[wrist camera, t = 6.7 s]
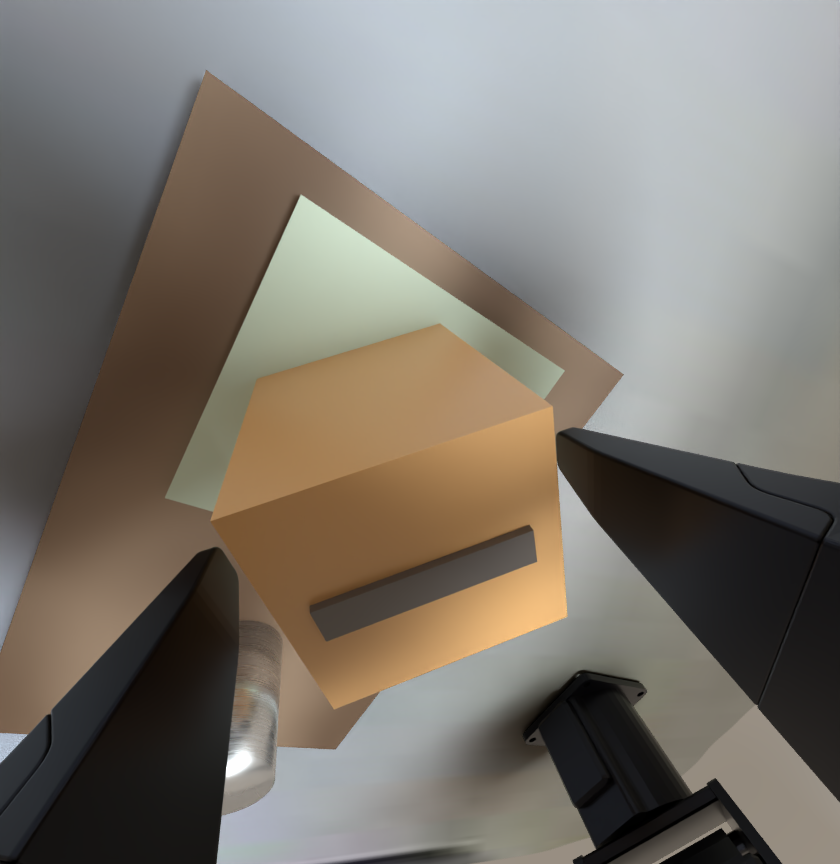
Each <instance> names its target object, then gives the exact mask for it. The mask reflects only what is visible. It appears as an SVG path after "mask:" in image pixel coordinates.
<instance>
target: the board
mask: <svg viewBox="0 0 840 864" xmlns="http://www.w3.org/2000/svg"><path fill="white" fill-rule="evenodd" d="M300 195H302V196H304V197H305V198H307V199H308V200H310V201H311V202H313V203H314V204H316V205H317V206H319V207H320V208H322V209H323V210H325V211H326V212H328V213H329V214H331V215H332V216H334V217H335V218H337V219H338V220H340V221H341V222H343V223H344V224H346V225H347V226H349V227H350V228H352V229H353V230H355V231H356V232H358V233H359V234H361V235H362V236H364V237H365V238H367V239H368V240H370V241H371V242H373V243H374V244H376V245H377V246H379V247H380V248H382V249H383V250H385V251H386V252H388V253H389V254H391V255H392V256H394V257H395V258H397V259H398V260H400V261H401V262H403V263H404V264H406V265H407V266H409V267H410V268H412V269H413V270H415V271H416V272H418V273H419V274H421V275H422V276H424V277H425V278H427V279H428V280H430V281H431V282H433V283H434V284H436V285H437V286H439V287H440V288H442V289H443V290H445V291H446V292H448V293H449V294H451V295H452V296H454V297H455V298H457V299H458V300H460V301H461V302H463V303H464V304H466V305H467V306H469V307H470V308H472V309H473V310H475V311H476V312H478V313H479V314H481V315H482V316H484V317H485V318H487V319H488V320H490V321H491V322H493V323H494V324H496V325H497V326H499V327H500V328H502V329H503V330H505V331H506V332H508V333H509V334H511V335H512V336H514V337H515V338H517V339H518V340H520V341H521V342H523V343H524V344H526V345H527V346H529V347H530V348H532V349H533V350H535V351H536V352H538V353H539V354H541V355H542V356H544V357H545V358H547V359H548V360H550V361H551V362H553V363H554V364H556V365H557V366H559V367H560V368H562V369H563V370H565V371H564V373H563V374H562V375H561V377H560V378H559V380H558V381H557V382H556V384H555V385H554V387H553V388H552V389H551V391H550V392H549V394H548V395H547V396H546V398H545V399H544V400H545V401H547V402H548V403H549V404H551V405H552V406H553V417H554V431H555V445H556V434H557V433H558V432H559V431H562V430H565V429H568V428H571V427H576V428H580V429H582V428H583V427H584V426H585V424H586V423H587V422H588V420H589V419H590V418H591V416H592V415H593V414H594V413H595V411H596V410H597V409H598V407H599V406H600V405H601V403H602V402H603V401H604V400H605V398H606V397H607V396H608V394H609V393H610V392H611V390H612V389H613V388H614V387H615V385H616V384H617V383H618V381H619V380H620V379H621V377H622V376H623V375H624V374H622V373H621V372H619V371H618V370H617V369H615V368H614V367H613V366H611V365H610V364H608V363H607V362H606V361H604V360H603V359H602V358H600V357H599V356H597V355H596V354H595V353H593V352H592V351H591V350H589V349H588V348H587V347H585V346H584V345H582V344H581V343H580V342H578V341H577V340H576V339H574V338H573V337H571V336H570V335H569V334H567V333H566V332H565V331H563V330H562V329H560V328H559V327H558V326H556V325H555V324H554V323H552V322H551V321H549V320H548V319H547V318H545V317H544V316H543V315H541V314H540V313H539V312H537V311H536V310H534V309H533V308H532V307H530V306H529V305H528V304H526V303H525V302H523V301H522V300H521V299H519V298H518V297H517V296H515V295H514V294H512V293H511V292H510V291H508V290H507V289H506V288H504V287H503V286H501V285H500V284H499V283H497V282H496V281H495V280H493V279H492V278H491V277H489V276H488V275H486V274H485V273H484V272H482V271H481V270H480V269H478V268H477V267H475V266H474V265H473V264H471V263H470V262H469V261H467V260H466V259H464V258H463V257H462V256H460V255H459V254H458V253H456V252H455V251H453V250H452V249H451V248H449V247H448V246H447V245H445V244H444V243H443V242H441V241H440V240H438V239H437V238H436V237H434V236H433V235H432V234H430V233H429V232H427V231H426V230H425V229H423V228H422V227H421V226H419V225H418V224H416V223H415V222H414V221H412V220H411V219H410V218H408V217H407V216H406V215H404V214H403V213H401V212H400V211H399V210H397V209H396V208H395V207H393V206H392V205H390V204H389V203H388V202H386V201H385V200H384V199H382V198H381V197H379V196H378V195H377V194H375V193H374V192H373V191H371V190H370V189H368V188H367V187H366V186H364V185H363V184H362V183H360V182H359V181H358V180H356V179H355V178H353V177H352V176H351V175H349V174H348V173H347V172H345V171H344V170H342V169H341V168H340V167H338V166H337V165H336V164H334V163H333V162H331V161H330V160H329V159H327V158H326V157H325V156H323V155H322V154H320V153H319V152H318V151H316V150H315V149H314V148H312V147H311V146H310V145H308V144H307V143H305V142H304V141H303V140H301V139H300V138H299V137H297V136H296V135H294V134H293V133H292V132H290V131H289V130H288V129H286V128H285V127H283V126H282V125H281V124H279V123H278V122H277V121H275V120H274V119H272V118H271V117H270V116H268V115H267V114H266V113H264V112H263V111H262V110H260V109H259V108H257V107H256V106H255V105H253V104H252V103H251V102H249V101H248V100H246V99H245V98H244V97H242V96H241V95H240V94H238V93H237V92H235V91H234V90H233V89H231V88H230V87H229V86H227V85H226V84H224V83H223V82H222V81H220V80H219V79H218V78H216V77H215V76H214V75H212V74H211V73H209V72H208V71H207V70H206V72H205V75H204V77H203V80H202V83H201V86H200V89H199V92H198V94H197V97H196V100H195V103H194V106H193V109H192V111H191V114H190V117H189V120H188V123H187V126H186V128H185V131H184V134H183V137H182V140H181V143H180V145H179V148H178V151H177V154H176V157H175V160H174V162H173V165H172V168H171V171H170V174H169V177H168V179H167V182H166V185H165V188H164V191H163V194H162V196H161V199H160V202H159V205H158V208H157V211H156V213H155V216H154V219H153V222H152V225H151V228H150V230H149V233H148V236H147V239H146V242H145V245H144V247H143V250H142V253H141V256H140V259H139V262H138V264H137V267H136V270H135V273H134V276H133V279H132V281H131V284H130V287H129V290H128V293H127V296H126V298H125V301H124V304H123V307H122V310H121V313H120V315H119V318H118V321H117V324H116V327H115V330H114V332H113V335H112V338H111V341H110V344H109V347H108V349H107V352H106V355H105V358H104V361H103V364H102V366H101V369H100V372H99V375H98V378H97V380H96V383H95V386H94V389H93V392H92V395H91V397H90V400H89V403H88V406H87V409H86V412H85V414H84V417H83V420H82V423H81V426H80V429H79V431H78V434H77V437H76V440H75V443H74V446H73V448H72V451H71V454H70V457H69V460H68V463H67V465H66V468H65V471H64V474H63V477H62V480H61V482H60V485H59V488H58V491H57V494H56V497H55V499H54V502H53V505H52V508H51V511H50V514H49V516H48V519H47V522H46V525H45V528H44V531H43V533H42V536H41V539H40V542H39V545H38V548H37V550H36V553H35V556H34V559H33V562H32V565H31V567H30V570H29V573H28V576H27V579H26V582H25V584H24V587H23V590H22V593H21V596H20V599H19V601H18V604H17V607H16V610H15V613H14V616H13V618H12V621H11V624H10V627H9V630H8V633H7V635H6V638H5V641H4V644H3V647H2V650H1V652H0V733H14V734H29V733H30V732H31V731H32V730H33V729H34V728H35V727H36V725H37V724H38V723H39V722H40V721H41V720H42V719H43V718H44V717H45V716H46V715H47V714H51V710H52V708H53V707H54V706H55V705H56V704H57V703H58V702H59V701H60V700H61V699H62V698H63V697H64V695H65V694H66V693H67V692H68V691H69V690H70V689H71V688H72V687H73V686H74V685H75V684H76V683H77V682H78V680H79V679H80V678H81V677H82V676H83V675H84V674H85V673H86V672H87V671H88V670H89V669H90V668H91V667H92V665H93V664H94V663H95V662H96V661H97V660H98V659H99V658H100V657H101V656H102V655H103V654H104V653H105V651H106V650H107V649H108V648H109V647H110V646H111V645H112V644H113V643H114V642H115V641H116V640H117V639H118V638H119V636H120V635H121V634H122V633H123V632H124V631H125V630H126V629H127V628H128V627H129V626H130V625H131V624H132V623H133V621H134V620H135V619H136V618H137V617H138V616H139V615H140V614H141V613H142V612H143V611H144V610H145V609H146V607H147V606H148V605H149V604H150V603H151V602H152V601H153V600H154V599H155V598H156V597H157V596H158V595H159V594H160V592H161V591H162V590H163V589H164V588H165V587H166V586H167V585H168V584H169V583H170V582H171V581H172V580H173V579H174V577H175V576H176V575H177V574H178V573H179V572H180V571H181V570H182V569H183V568H184V567H185V566H186V565H187V563H188V562H189V561H190V560H191V559H192V558H193V557H194V556H195V555H196V554H197V553H198V552H200V551H203V550H206V549H209V548H212V547H219V548H221V549H222V550H223V552H224V553H225V555H226V556H227V558H228V559H229V561H230V562H231V564H232V566H233V567H234V569H235V570H236V572H237V575H238V579H239V621H242V620H251V621H259V622H263V623H266V624H268V625H270V626H272V627H273V628H275V629H276V630H277V631H278V632H279V633H280V635H281V637H282V641H283V647H282V664H281V681H280V698H279V715H278V733H277V746H278V747H298V748H318V749H336V748H337V747H338V745H339V744H340V743H341V742H342V740H343V739H344V738H345V736H346V735H347V734H348V732H349V731H350V730H351V729H352V727H353V726H354V725H355V723H356V722H357V721H358V719H359V718H360V717H361V716H362V714H363V713H364V712H365V710H366V709H367V708H368V706H369V705H370V704H371V703H372V701H373V700H374V699H375V697H376V696H377V695H378V693H379V692H377V693H375V694H372V695H370V696H367V697H364V698H362V699H359V700H357V701H354V702H352V703H349V704H347V705H344V706H342V707H339V708H337V709H333V707H332V706H331V704H330V703H329V701H328V700H327V698H326V697H325V695H324V694H323V692H322V691H321V689H320V687H319V686H318V684H317V683H316V681H315V680H314V678H313V677H312V675H311V674H310V672H309V671H308V669H307V668H306V666H305V665H304V663H303V662H302V660H301V659H300V657H299V656H298V654H297V653H296V651H295V649H294V648H293V646H292V645H291V643H290V642H289V640H288V639H287V637H286V636H285V634H284V633H283V631H282V630H281V628H280V627H279V625H278V624H277V622H276V621H275V619H274V618H273V616H272V615H271V613H270V612H269V610H268V608H267V607H266V605H265V604H264V602H263V601H262V599H261V598H260V596H259V595H258V593H257V592H256V590H255V589H254V587H253V586H252V584H251V583H250V581H249V580H248V578H247V577H246V575H245V574H244V572H243V570H242V569H241V567H240V566H239V564H238V563H237V561H236V560H235V558H234V557H233V555H232V554H231V552H230V551H229V549H228V548H227V546H226V545H225V543H224V542H223V540H222V539H221V537H220V536H219V534H218V532H217V531H216V529H215V528H214V526H213V525H212V523H211V522H210V520H211V517H212V514H213V512H212V511H208V510H205V509H201V508H198V507H194V506H191V505H187V504H184V503H180V502H177V501H173V500H170V499H166V498H165V496H166V494H167V492H168V489H169V487H170V485H171V483H172V480H173V478H174V476H175V474H176V471H177V469H178V467H179V465H180V463H181V460H182V458H183V456H184V454H185V451H186V449H187V447H188V445H189V443H190V440H191V438H192V436H193V434H194V431H195V429H196V427H197V425H198V423H199V420H200V418H201V416H202V414H203V411H204V409H205V407H206V405H207V402H208V400H209V398H210V396H211V394H212V391H213V389H214V387H215V385H216V382H217V380H218V378H219V376H220V374H221V371H222V369H223V367H224V365H225V362H226V360H227V358H228V356H229V354H230V351H231V349H232V347H233V345H234V342H235V340H236V338H237V336H238V333H239V331H240V329H241V327H242V325H243V322H244V320H245V318H246V316H247V313H248V311H249V309H250V307H251V305H252V302H253V300H254V298H255V296H256V293H257V291H258V289H259V287H260V285H261V282H262V280H263V278H264V276H265V273H266V271H267V269H268V267H269V264H270V262H271V260H272V258H273V256H274V253H275V251H276V249H277V247H278V244H279V242H280V240H281V238H282V236H283V233H284V231H285V229H286V227H287V224H288V222H289V220H290V218H291V216H292V213H293V211H294V209H295V207H296V204H297V202H298V200H299V198H300ZM556 460H557V454H556Z"/></svg>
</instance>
